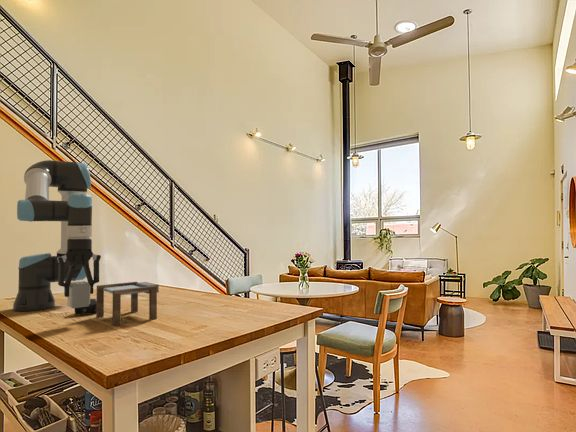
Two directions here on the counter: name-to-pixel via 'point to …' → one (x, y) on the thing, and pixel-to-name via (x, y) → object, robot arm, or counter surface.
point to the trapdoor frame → (117, 300)
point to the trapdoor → (138, 285)
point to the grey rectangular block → (80, 294)
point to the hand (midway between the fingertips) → (78, 304)
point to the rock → (87, 308)
